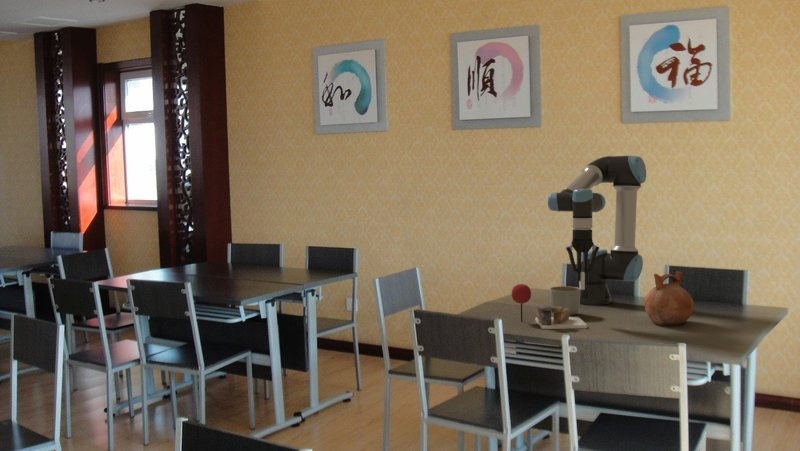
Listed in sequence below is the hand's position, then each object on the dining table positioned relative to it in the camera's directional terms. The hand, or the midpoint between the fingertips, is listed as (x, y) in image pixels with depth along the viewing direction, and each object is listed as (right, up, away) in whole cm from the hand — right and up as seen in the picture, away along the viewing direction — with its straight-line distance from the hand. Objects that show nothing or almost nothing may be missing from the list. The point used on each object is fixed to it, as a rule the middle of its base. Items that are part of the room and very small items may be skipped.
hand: (582, 288), depth 319 cm
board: (-9, -14, -1) cm, 16 cm away
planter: (-3, -12, +17) cm, 21 cm away
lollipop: (-23, -14, +5) cm, 27 cm away
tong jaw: (-12, -12, -3) cm, 17 cm away
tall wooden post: (-15, -14, -1) cm, 20 cm away
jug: (+33, -13, -3) cm, 36 cm away
